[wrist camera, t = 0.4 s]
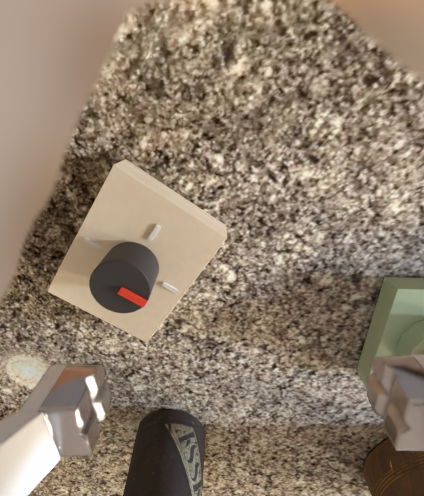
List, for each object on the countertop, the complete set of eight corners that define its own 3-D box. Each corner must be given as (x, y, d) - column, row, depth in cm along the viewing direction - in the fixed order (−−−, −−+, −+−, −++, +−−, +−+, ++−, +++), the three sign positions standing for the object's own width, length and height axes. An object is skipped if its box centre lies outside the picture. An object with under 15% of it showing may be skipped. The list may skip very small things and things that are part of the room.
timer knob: (96, 271, 24) (77, 297, 21) (121, 231, 23) (103, 251, 19) (143, 297, 25) (131, 325, 22) (169, 260, 24) (160, 284, 20)
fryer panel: (125, 158, 23) (113, 164, 20) (226, 225, 26) (227, 238, 23) (63, 274, 28) (45, 292, 25) (153, 322, 30) (146, 344, 27)
